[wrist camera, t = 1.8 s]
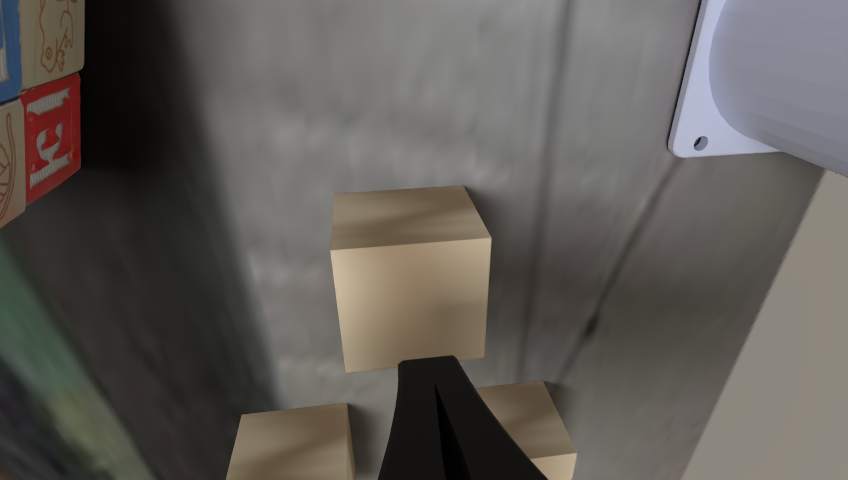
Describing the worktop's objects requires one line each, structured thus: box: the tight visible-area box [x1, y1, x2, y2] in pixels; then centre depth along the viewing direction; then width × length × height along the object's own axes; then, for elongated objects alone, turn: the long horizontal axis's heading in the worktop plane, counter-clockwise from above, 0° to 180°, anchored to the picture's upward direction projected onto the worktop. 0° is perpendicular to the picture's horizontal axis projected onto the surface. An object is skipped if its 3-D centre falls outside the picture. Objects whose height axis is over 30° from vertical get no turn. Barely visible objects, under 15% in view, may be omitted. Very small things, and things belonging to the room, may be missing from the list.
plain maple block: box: [330, 185, 491, 373], centre depth 16 cm, size 4×4×4 cm
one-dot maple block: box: [475, 381, 577, 480], centre depth 21 cm, size 4×4×4 cm
